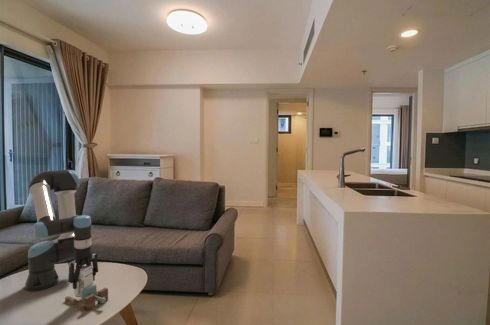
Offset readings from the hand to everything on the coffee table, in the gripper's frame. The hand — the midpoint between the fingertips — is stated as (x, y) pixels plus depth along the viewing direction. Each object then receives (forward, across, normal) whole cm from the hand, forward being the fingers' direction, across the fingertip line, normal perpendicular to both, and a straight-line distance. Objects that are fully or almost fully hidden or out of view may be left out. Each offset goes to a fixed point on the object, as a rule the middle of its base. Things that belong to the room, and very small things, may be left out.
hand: (84, 290), depth 138 cm
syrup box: (+2, 0, 0) cm, 2 cm away
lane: (+5, 0, -2) cm, 5 cm away
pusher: (+4, 0, -10) cm, 11 cm away
